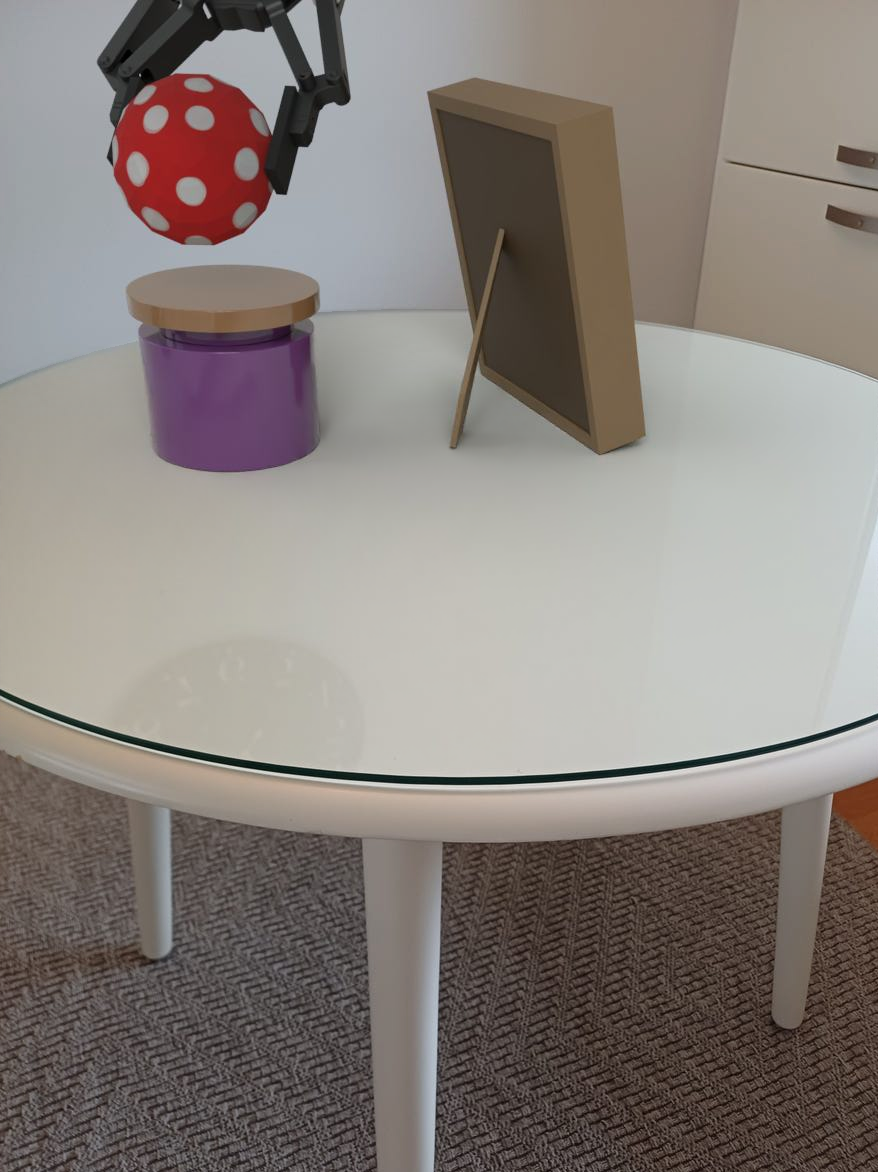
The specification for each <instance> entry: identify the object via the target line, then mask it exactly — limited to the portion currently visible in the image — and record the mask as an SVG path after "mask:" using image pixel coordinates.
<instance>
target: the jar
mask: <svg viewBox="0 0 878 1172" xmlns="http://www.w3.org/2000/svg"><path fill="white" fill-rule="evenodd" d="M320 288H321V287H320V284H319V282H318V281H317V280H316V279H315V278H313V277H311V276H310V275H307V274H304V273H302V272H299V271H295V270H291V269H286V268H281V267H274V266H264V265H255V264H253V265H252V264H205V265H191V266H184V267H183V266H182V267H175V268H170V269H165V270H164V269H163V270H160V271H155V272H151V273H148V274H145V275H142V276H139V277H137V278H135V279H133V280H131V281H130V282H129V283H128V284H127V286H126V287H125V297H126V306H127V310H128V313H129V315H130V316H131V317H132V318H133V319H135V320H136V321H138V322H140V323H141V324H140V325H139V326H138V329H137V336H138V337H137V338H138V343H139V352H140V359H141V360H140V361H141V367H142V375H143V383H144V391H145V397H146V399H145V400H146V407H147V415H148V424H149V430H150V438H151V447H152V449H153V452H154V453H156V455H157V456H159V458H161V459H162V460H165V461H166V462H169V463H171V464H173V465H176V466H181V467H183V468H188V469H193V470H199V471H209V472H247V471H255V470H256V471H257V470H263V469H269V468H273V467H279V466H282V465H286V464H289V463H293V462H295V461H297V460H299V459H301V458H304V457H306V456H307V455H309V454H310V453H311V452H313V451H314V450H315V449H316V448H317V447H318V445H319V442H320V438H321V437H320V436H321V435H320V418H319V417H320V416H319V415H320V414H319V394H318V393H319V392H318V391H319V390H318V372H317V371H318V370H317V349H316V326H315V324H314V322H313V321H312V320H311V319H310V318H312V317H313V316H315V315H316V314H317V313H318V312H319V311H320V308H321V290H320Z"/></svg>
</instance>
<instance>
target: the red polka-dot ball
mask: <svg viewBox="0 0 878 1172" xmlns="http://www.w3.org/2000/svg"><path fill="white" fill-rule="evenodd" d="M113 134H114V133H113ZM272 134H273V133H272V131H271V128H270V127H269V124H268V121H267V118H266V117H265V115H264V113H263V112H262V111H261V110H260V109H259V107H257V105H256V104H255V103H254V102H253V100H251V99H250V98H249V97H248V96H247V95H246V94H245V93H244V92H243V90H242V89H240V87H237V86H235V85H233V84H231V83H228V82H226V81H224V80H223V79H220V78H219V77H218V78H217V77H215V76H213V75H211V74H209V73H183V72H181V73H180V72H178V73H177V72H175V73H172V74H171V75H170V76H168V77H165V78H163V79H161V80H158V81H156V82H153V83H151V84H148V85H146V86H145V87H144V88H143V89H142V90H141V91H140V92H139V93H138V94H137V95H136V96H135V98H134V99H133V100H132V101H131V102H130V103H129V104H128V105H127V106H126V107H125V108H124V109H123V112H122V115H121V117H120V120H119V123H118V126H117V129H116V132H115V134H114V137H113V136H112V137H113V140H112V139H111V140H112V150H113V167H112V169H113V177H114V179H115V182H116V184H117V186H118V189H119V190H120V193H121V195H122V198H123V200H124V202H125V204H126V207H127V208H128V209H129V210H130V211H131V212H132V213H133V215H135V216H136V217H137V218H138V219H139V221H140V222H142V223H143V224H144V225H145V226H146V227H147V228H148V229H149V230H150V231H151V232H153V233H154V234H156V235H159V236H162V237H163V238H166V239H169V240H171V241H173V242H175V243H178V244H180V245H182V246H216V245H219V244H222V243H223V242H226V241H228V240H231V239H233V238H236V237H239V236H241V235H243V234H245V233H246V232H247V230H248V229H249V228H250V227H251V226H253V224H255V222H256V221H257V220H258V219H259V218H260V217H261V216H262V215H263V214H264V213H265V212H266V211H267V208H268V205H269V202H270V200H271V197H272V194H273V192H274V189H273V186H272V184H271V182H270V180H269V178H268V176H267V174H266V172H265V170H264V166H265V162H266V158H267V154H268V150H269V146H270V142H271V138H272Z"/></svg>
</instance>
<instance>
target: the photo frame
mask: <svg viewBox="0 0 878 1172" xmlns="http://www.w3.org/2000/svg"><path fill="white" fill-rule="evenodd" d="M426 94H427V100H428V105H429V110H430V115H431V120H432V126H433V131H434V135H435V136H434V137H435V141H436V147H437V152H438V158H439V162H440V168H441V173H442V178H443V183H444V189H445V194H446V198H447V205H448V210H449V214H450V219H451V226H452V230H453V235H454V241H455V246H456V251H457V252H456V253H457V257H458V263H459V267H460V272H461V277H462V282H463V288H464V294H465V299H466V303H467V308H468V315H469V318H470V319H469V320H470V325H471V329H472V330H471V331H472V333H473V334H472V335H473V337H472V340H471V344H470V349H469V353H468V357H467V361H466V366H465V369H464V375H463V377H462V383H461V386H460V389H459V390H460V391H459V394H458V398H457V399H458V400H457V406H456V410H455V411H456V412H455V416H454V421H453V422H454V423H453V427H452V432H451V438H450V444H449V447H450V448H454V449H456V447H457V445H458V443H459V440H460V438H461V436H462V434H463V431H464V427H465V423H466V418H467V415H468V409H469V404H470V400H471V395H472V391H473V386H474V382H475V377H476V372H477V367H479V372H480V375H482V376H483V377H484V376H485V378H486V379H487V380H489V381H490V382H492V383H493V384H494V385H496V386H498V387H499V388H501V390H504V391H505V392H507V393H508V394H509V395H511V396H513V397H514V398H515V399H516V400H518V401H519V402H521V403H522V404H524V405H525V406H527V407H528V408H530V409H531V410H532V411H534V412H536V413H537V414H539V415H540V416H541V417H543V418H544V419H546V420H548V421H549V422H550V423H552V424H553V425H554V426H556V427H558V428H559V429H560V430H562V431H563V432H565V433H566V434H568V435H569V436H571V437H572V438H574V439H575V440H577V441H578V442H580V443H581V444H583V445H584V446H585V447H587V448H589V450H591V451H593V452H594V453H595V454H597V455H598V456H600V455H602V454H605V453H608V452H610V451H613V450H615V449H617V448H620V447H622V446H625V445H627V444H629V443H632V442H635V441H637V440H640V439H643V438H644V437H647V434H646V424H645V423H646V422H645V413H644V404H643V395H642V394H643V393H642V385H641V375H640V373H641V372H640V364H639V355H638V345H637V344H638V343H637V335H636V326H635V325H636V323H635V314H634V306H633V305H634V304H633V295H632V285H631V276H630V274H631V273H630V266H629V265H630V264H629V255H628V246H627V236H626V226H625V216H624V215H625V214H624V208H623V207H624V205H623V196H622V188H621V187H622V186H621V177H620V168H619V167H620V166H619V157H618V148H617V147H618V146H617V140H616V139H617V138H616V128H615V119H614V108H613V106H610V105H607V104H606V105H605V104H600V103H596V102H592V101H587V100H582V99H579V98H573V97H568V96H563V95H560V94H555V93H550V92H545V91H540V90H535V89H531V88H526V87H522V86H517V85H512V84H507V83H503V82H498V81H494V80H489V79H484V78H478V77H471V78H468V79H464V80H460V81H457V82H454V83H450V84H447V85H443V86H441V87H437V88H433V89H430V90H427V91H426Z"/></svg>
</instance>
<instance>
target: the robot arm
mask: <svg viewBox="0 0 878 1172" xmlns="http://www.w3.org/2000/svg"><path fill="white" fill-rule="evenodd" d="M302 1H303V0H136V1H135V3H134V5H133V6H132V8H130V10H129V12H128V13H127V15H126V16H125V17H124V19H123V21H121V23H120V25H119V26H118V28H117V29H116V30H115V32H114V34H113V35H112V37H111V38H110V40H109V41H108V42H107V44H106V46H105V47H104V48H103V50H102V52H101V53H100V54H99V56H98V57H97V60H96V65H97V66H98V68H99V69H100V71H101V73H102V74H103V77H104V78H105V79H106V81H107V83H108V84H109V86H110V87H111V89H112V90H113V91H114V92H115V95H114V98H113V101H112V104H111V108H110V112H109V121H110V123H111V125H112V126H113V128H114V129H113V134H112V137H111V141H110V144H109V148H108V150H107V155H106V160H107V161H108V162H109V164H110V165H111V167H112V168H113V150H112V140H113V137H114V134H115V132H116V129H117V126H118V123H119V120H120V117H121V115H122V112H123V109H124V108H125V107H126V106H127V105H128V104H129V103H130V102H131V101H132V100H133V99H134V98H135V96H136V95H137V94H138V93H139V92H140V91H141V90H142V89H143V88H144V87H145V86H146V85H148V84H151V83H153V82H156V81H158V80H161V79H163V78H165V77H168V76H170V75H173V74H174V72H176V70H178V68H180V67H181V66H182V64H184V62H186V61H187V60H188V59H189V58H190V57H191V56H192V55H193V53H195V52H196V51H197V50H198V49H199V48H200V46H202V44H204V43H205V42H206V41H207V42H213V41H215V40H216V39H217V38H218V37H219V36H220V35H221V34H222V33H223V32H224V31H227V32H229V31H231V32H235V31H240V30H247V31H249V32H250V31H251V32H253V33H265V32H266V29H269V28H271V27H272V30H273V31H274V34H275V37H276V39H277V42H278V44H279V45H280V47H281V50H282V52H283V54H284V57H285V59H286V61H287V64H288V66H289V68H290V70H291V73H292V75H293V78H294V79H295V82H296V84H297V86H298V89H297V87H296V85H284V87H283V92H282V95H281V99H280V104H279V107H278V112H277V115H276V119H275V124H274V127H273V131H272V133H271V134H272V138H271V142H270V146H269V150H268V154H267V158H266V162H265V166H264V170H265V172H266V174H267V176H268V178H269V180H270V182H271V184H272V186H273V192H274V193H275V194H276V195H280V196H287V195H288V193H289V192H288V191H289V187H290V184H291V180H292V176H293V172H294V167H295V163H296V160H297V155H298V152H299V148H309V147H310V145H311V144H312V143H313V140H314V135H315V131H316V127H317V123H318V119H319V115H320V112H321V111H322V110H323V108H324V107H325V106H327V105H329V104H333V103H334V104H335V105H337V106H339V107H343V106H347V105H348V104H349V103H350V101H351V100H352V99H351V98H352V96H351V94H352V93H351V87H350V80H349V73H348V64H347V58H346V50H345V43H344V35H343V34H344V33H343V27H342V20H341V17H342V13H343V10H344V6H345V2H346V0H311V1H312V4H313V5H314V6H315V8H316V16H317V25H318V32H319V40H320V49H321V57H322V64H323V71H324V73H322V74H317V75H315V74H314V72H313V69H312V67H311V65H310V63H309V61H308V59H307V55H306V54H305V52H304V50H303V47H302V45H301V43H300V41H299V37H298V36H297V33H296V31H295V29H294V27H293V24H292V22H291V20H290V18H289V15H288V14H289V12H291V11H292V10H293V9H294V8H295V7H296V6H297V5H298V4H300V3H301V2H302ZM180 5H181V6H180ZM204 5H205V7H206V9H207V12H208V13H209V15H210V17H208V16H207V13H206V11H205V8H204Z"/></svg>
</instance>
